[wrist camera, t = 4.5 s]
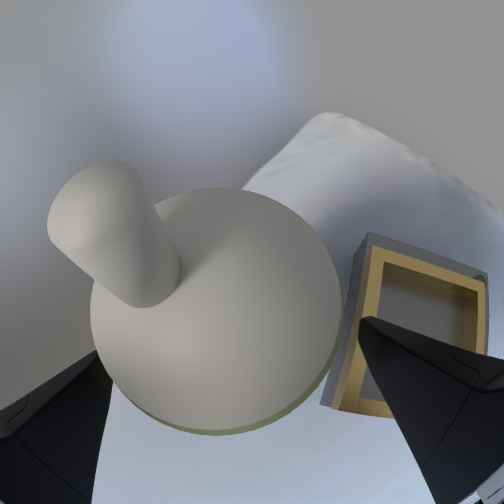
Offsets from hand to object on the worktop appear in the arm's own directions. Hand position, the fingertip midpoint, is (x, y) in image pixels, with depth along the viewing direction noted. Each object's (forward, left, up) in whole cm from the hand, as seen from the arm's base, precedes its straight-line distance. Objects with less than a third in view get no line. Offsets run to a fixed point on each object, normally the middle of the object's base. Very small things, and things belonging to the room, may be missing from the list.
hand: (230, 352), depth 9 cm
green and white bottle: (0, -1, -8) cm, 8 cm away
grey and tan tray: (-11, -5, -8) cm, 14 cm away
